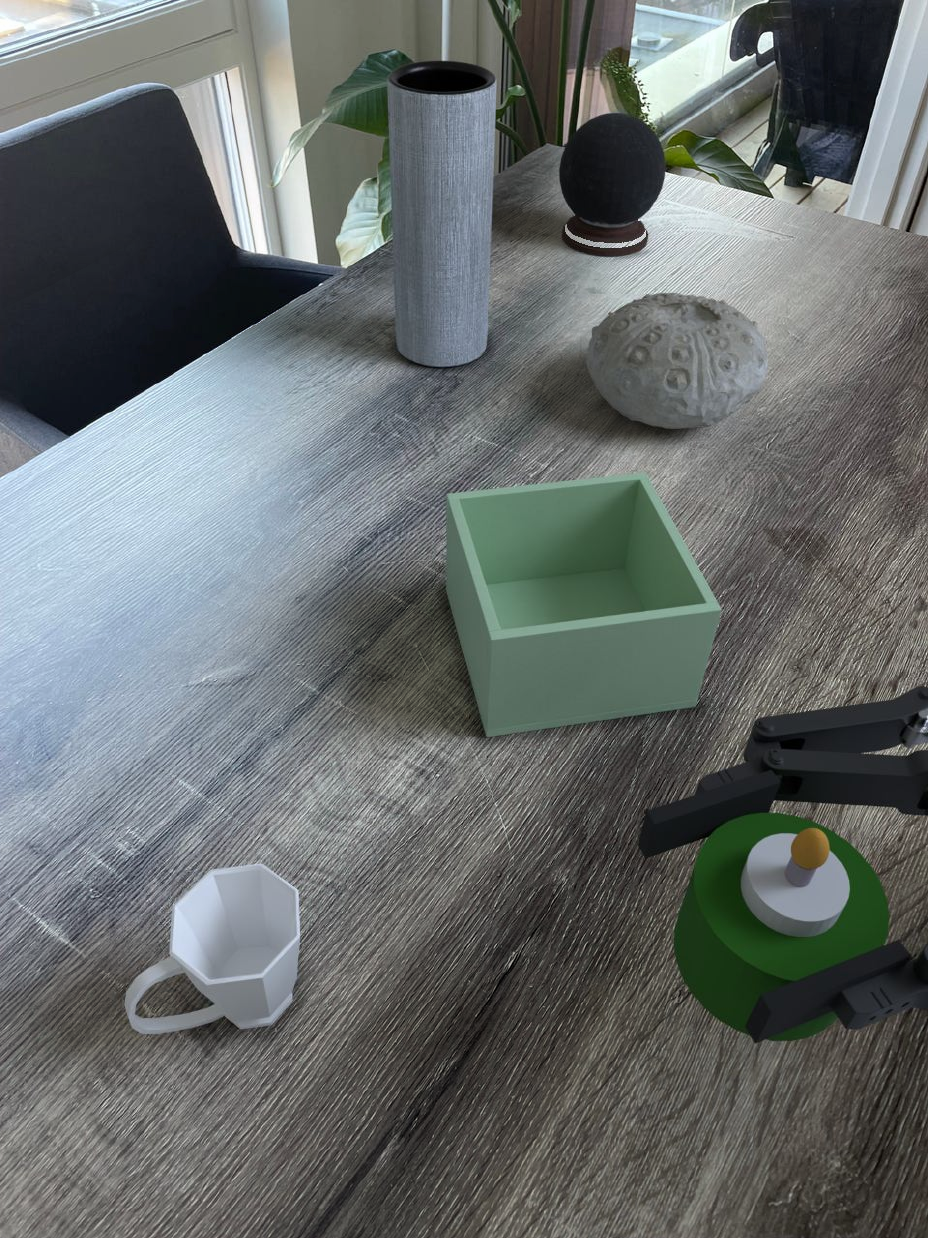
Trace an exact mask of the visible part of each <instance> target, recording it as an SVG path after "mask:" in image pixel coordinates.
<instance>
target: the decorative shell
mask: <svg viewBox="0 0 928 1238" xmlns="http://www.w3.org/2000/svg"><path fill="white" fill-rule="evenodd" d="M767 342H768V340H767V339H766V338H765V337H764V336H762V334H761V332H760V331H759V330H758V322H757V321H755V320H751V319H750V318H749V317H748V316H747V315H746V314H744V313H742V312H741V311H740V310H739V309H737V308H736V307H734V306H733V305H730V304H728V302H726V300H725V299H722V300H716V299H715V298H713V297H712V298H707V297H706V296H702V295H699V296H697V295H695V294H681V293H679V292H668V293H667V292H658V293H655V294H650V293H646V294H644V295H643V297H641V298H638V299H633V300H632V301H631V302H628V303H626V304H624V305H622V306H620V307H619V308H618V309H616V310H614V311H613V312H610V311H609V312H608V313H607V316H606V317H605V318H604V319H603V320H602V321H601V322H600V323H599V324H598V325H595V326H592V328H591V337H590V339H589V341H588V347H587V349H586V351H587V353H586V355H585V363H586V368H587V370H588V373H589V376H590V379H591V381H592V382H593V385H594V387H595V388H596V390H597V391H598V392H599V394H600V395H601V396H602V398H603V399H604V400H605V401H606V402H607V403H608V404H609V405H610V406H611V407H612V408H613V409H614V410H615V411H617V412H618V413H619V414H620V415H622V416H623V417H626V418H627V419H628V420H630V421H633V422H640V423H643V424H645V425H648V426H650V427H651V426H652V427H660V428H664V429H669V430H670V429H671V430H676V429H696V428H702V427H707V428H708V427H711V426H712V425H714V424H715V423H717V422H721V421H723V420H724V419H726V418H728V417H729V416H731V415H732V414H734V413H736V412H738V411H739V410H740V409H741V408H742V406H743V405H745V404H747V403H749V402H751V400H752V399H753V398H754V397H755V396H757V395H758V394H759V393H760V392H762V390H763V387H764V383H765V381H766V378H767V373H768V372H767V371H768V368H769V360H768V353H767V352H768V351H767Z"/></svg>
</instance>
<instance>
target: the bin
mask: <svg viewBox="0 0 928 1238" xmlns="http://www.w3.org/2000/svg"><path fill="white" fill-rule="evenodd" d="M650 479H651V478H649V475H648V473H647V472H646V471H643V472H634V473H624V474H615V475H608V476H598V477H589V478H588V477H587V478H579V479H571V480H561V481H553V482H543V483H532V484H524V485H514V486H506V487H496V488H488V489H486V488H485V489H477V490H469V491H459V492H451V493H446V495H445V496H446V497H445V498H446V506H445V507H446V509H445V511H446V512H445V513H446V517H445V519H446V520H445V521H446V524H445V525H446V527H445V528H446V529H445V530H446V532H445V533H446V534H445V537H446V538H445V540H446V541H445V543H446V544H445V549H446V550H445V554H446V555H445V575H446V576H445V591H446V595H447V598H448V599H447V600H448V602H449V606H450V609H451V614H452V617H453V621H454V624H455V627H456V632H457V635H458V639H459V642H460V646H461V650H462V653H463V658H464V661H465V665H466V667H467V672H468V675H469V679H470V682H471V686H472V689H473V693H474V697H475V701H476V704H477V709H478V711H479V715H480V719H481V723H482V726H483V729H484V733H485V737H486V738H491V737H499V736H505V735H512V734H520V733H526V732H534V731H540V730H546V729H554V728H559V727H567V726H573V725H581V724H588V723H594V722H600V721H608V720H609V721H610V720H614V719H622V718H628V717H629V718H630V717H635V716H636V717H637V716H641V715H649V714H657V713H663V712H671V711H676V710H683V709H688V708H689V709H690V708H696V707H697V705H698V704H697V703H698V700H699V696H700V692H701V689H702V685H703V681H704V677H705V673H706V670H707V666H708V662H709V659H710V655H711V651H712V647H713V644H714V640H715V637H716V632H717V628H718V626H719V621H720V618H721V615H722V610H723V609H722V607H721V606H720V604H719V602H718V600H717V598H716V597H715V594H714V593H713V591H712V590H711V587H710V586H709V584H708V582H707V580H706V579H705V577H704V575H703V573H702V571H701V570H700V568H699V566H698V564H697V562H696V560H695V559H694V557H693V555H692V553H691V552H690V549H689V548H688V546H687V544H686V543H685V541H684V539H683V537H682V536H681V533H680V532H679V530H678V528H677V526H676V524H675V523H674V521H673V519H672V517H671V516H670V513H669V512H668V510H667V508H666V506H665V505H664V503H663V501H662V499H661V498H660V495H659V494H658V493H657V490H656V488H655V487H654V484H653V483H652V481H651V480H650Z"/></svg>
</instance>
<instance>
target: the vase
mask: <svg viewBox="0 0 928 1238" xmlns="http://www.w3.org/2000/svg"><path fill="white" fill-rule="evenodd" d="M386 78H387V80H386V85H387V90H386V91H387V116H388V118H387V119H388V140H389V141H388V146H389V149H388V150H389V174H390V175H389V176H390V179H389V180H390V202H391V203H390V204H391V208H390V209H391V234H392V235H391V236H392V256H393V257H392V262H393V263H392V264H393V265H392V266H393V290H394V291H393V294H394V296H393V297H394V318H395V319H394V321H395V322H394V323H395V325H394V326H395V339H396V340H395V341H396V348H397V350H398V352H399V353H400V354H401V355H402V356H403V357H404V358H406V359H407V360H409V361H411V362H414V363H416V364H418V365H423V366H426V367H432V368H433V367H434V368H450V367H451V368H452V367H457V366H461V365H466V364H469V363H471V362H473V361H475V360H476V359H479V358H480V357H481V356H482V355H483V354H484V353H485V351H486V350H487V346H488V337H489V336H488V335H489V310H490V304H489V303H490V281H491V280H490V279H491V252H492V251H491V250H492V247H491V246H492V228H493V227H492V223H493V197H494V196H493V195H494V169H495V167H494V166H495V143H496V141H495V139H496V113H497V111H496V110H497V84H498V83H497V77H496V75H495V74H494V73H493V72H492V71H491V70H489V69H487V68H486V67H484V66H480V65H477V64H474V63H469V62H463V61H456V60H424V61H415V62H410V63H406V64H403V65H400V66H398V67H396V68H394V69H392V70H391V72H390V73H388V76H387V77H386Z"/></svg>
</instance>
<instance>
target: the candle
mask: <svg viewBox="0 0 928 1238" xmlns="http://www.w3.org/2000/svg"><path fill="white" fill-rule="evenodd" d="M699 849H700V850H699V851H698V853H697V856H696V859H695V862H694V864H693V868H692V870H691V875H690V877H689V881H688V883H687V887H686V890H685V893H684V896H683V899H682V902H681V906H680V907H679V910H678V911H679V912H678V915H677V918H676V921H675V924H674V925H675V926H674V929H673V942H672V944H673V952H674V957H675V963H676V965H677V968H678V970H679V973H680V976H681V978H682V980H683V982H684V983H685V985H686V987H687V989H688V990H689V991H690V993H691V995H692V996H693V997H694V998H695V999H696V1000H697V1001H698V1003H699V1005H701V1007H703V1009H705V1010H706V1011H707V1012H708V1013H709V1014H711V1015H712V1016H713V1017H714V1018H715V1019H717V1020H718V1021H719V1022H721V1023H722V1024H724V1025H726V1026H728V1027H730V1028H731V1029H732V1030H735V1031H737V1032H739V1033H741V1034H744V1035H746V1036H749V1037H751V1036H750V1034H749V1032H748V1031H747V1029H746V1027H745V1025H746V1023H747V1021H748V1019H749V1016H750V1014H751V1012H752V1010H753V1008H754V1006H755V1004H756V1002H757V1000H758V998H759V996H760V995H761V994H764V993H766V992H769V991H771V990H774V989H776V988H779V987H781V986H784V985H786V984H789V983H791V982H794V981H796V980H799V979H801V978H804V977H806V976H809V975H811V974H814V973H816V972H819V971H821V970H824V969H826V968H829V967H831V966H834V965H836V964H839V963H841V962H844V961H846V960H849V959H851V958H854V957H856V956H859V955H861V954H864V953H866V952H869V951H871V950H874V949H876V948H879V947H881V946H884V945H885V944H886V940H887V938H888V935H889V927H890V918H891V917H890V916H891V915H890V911H889V910H890V909H889V901H888V899H887V895H886V893H885V889H884V887H883V884H882V882H881V880H880V879H879V877H878V875H877V873H876V871H875V869H874V868H873V866H872V865H871V864H870V863H869V861H867V859H866V858H865V857H864V856H863V854H862V853H861V852H860V851H858V849H857V848H856V847H854V846H853V845H852V844H851V843H850V842H849V841H848V840H847V839H845V838H843V837H842V836H840V834H837V833H836V832H834V831H833V830H832V829H830V828H828V827H825V826H823V825H821V824H819V823H817V822H815V821H813V820H811V819H807V818H803V817H801V816H797V815H793V814H787V813H781V812H769V813H756V814H750V815H745V816H742V817H739V818H736V819H733V820H730V821H728V822H727V823H725V824H723V825H722V826H720V827H719V828H717V829H716V830H715V831H714V832H713V833H712V834H711V835H710V836H709V837H707V838H705V841H704V842H703V844H702V846H701V847H700V848H699ZM838 1019H839V1018H838V1017H837V1015H836V1014H835V1012H834V1011H833V1012H831V1013H828V1014H826V1015H823V1016H821V1017H819V1018H816V1019H814V1020H811V1021H809V1022H806V1023H804V1024H802V1025H799V1026H797V1027H794V1028H792V1029H790V1030H787V1031H785V1032H782V1033H780V1034H778V1035H775V1036H773V1037H770V1038H768V1039H766V1040H765V1041H771V1042H794V1041H799V1040H803V1039H809V1038H811V1037H813V1036H815V1035H817V1034H819V1033H821V1032H824V1031H825V1030H826V1029H828V1028H829V1027H830V1026H832V1025H833V1024H834V1023H835V1022H837V1020H838Z"/></svg>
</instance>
